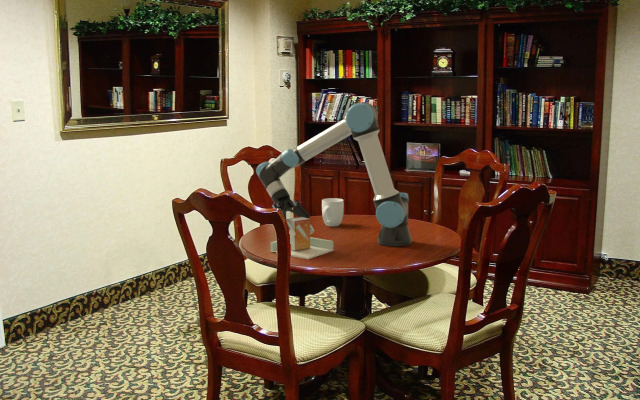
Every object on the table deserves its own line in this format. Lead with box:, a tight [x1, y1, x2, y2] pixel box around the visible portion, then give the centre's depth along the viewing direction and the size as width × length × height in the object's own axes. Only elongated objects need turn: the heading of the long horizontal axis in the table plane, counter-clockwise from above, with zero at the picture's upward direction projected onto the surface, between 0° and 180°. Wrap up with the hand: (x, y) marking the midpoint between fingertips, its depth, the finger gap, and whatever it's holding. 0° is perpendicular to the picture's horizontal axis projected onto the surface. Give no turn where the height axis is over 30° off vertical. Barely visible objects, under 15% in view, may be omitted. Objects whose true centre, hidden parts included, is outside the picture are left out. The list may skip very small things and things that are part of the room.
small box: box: [286, 216, 311, 251], centre depth 286 cm, size 8×6×13 cm
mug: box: [321, 197, 345, 228], centre depth 337 cm, size 15×11×13 cm
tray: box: [269, 236, 334, 260], centre depth 285 cm, size 20×18×4 cm
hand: (303, 234), depth 283 cm, fingers open, 10 cm apart
